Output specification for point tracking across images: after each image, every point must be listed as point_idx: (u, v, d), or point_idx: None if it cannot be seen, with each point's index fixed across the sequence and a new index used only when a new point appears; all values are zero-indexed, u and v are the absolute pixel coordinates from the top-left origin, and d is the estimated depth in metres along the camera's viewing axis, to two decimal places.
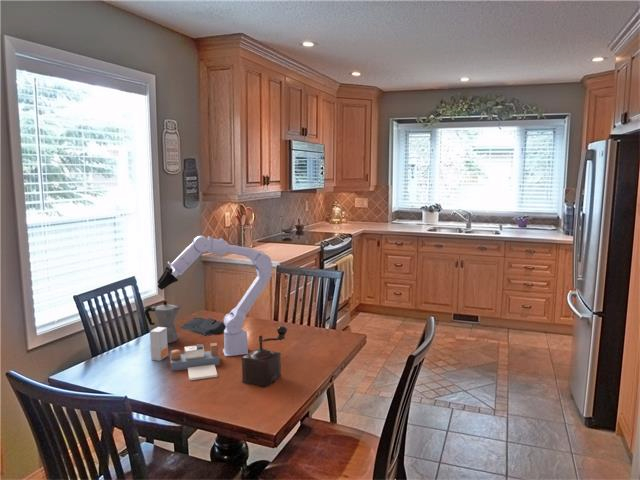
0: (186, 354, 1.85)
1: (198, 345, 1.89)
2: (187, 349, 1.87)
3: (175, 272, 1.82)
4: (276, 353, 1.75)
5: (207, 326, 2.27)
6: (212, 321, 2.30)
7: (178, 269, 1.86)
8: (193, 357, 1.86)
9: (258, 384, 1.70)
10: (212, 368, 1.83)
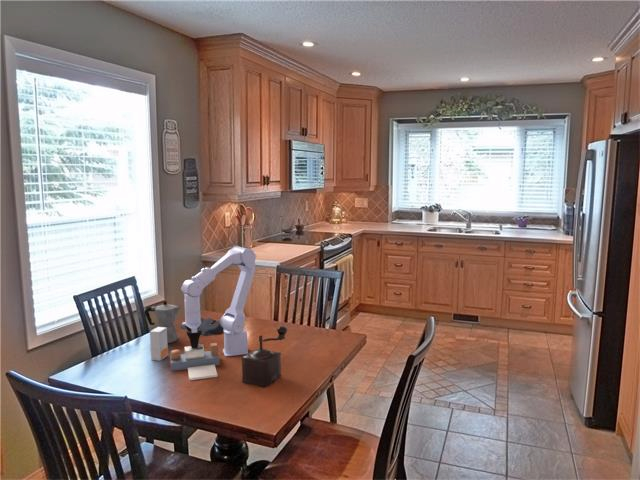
0: (186, 354, 1.85)
1: (198, 345, 1.89)
2: (187, 349, 1.87)
3: (193, 329, 1.80)
4: (276, 353, 1.75)
5: (206, 326, 2.27)
6: (211, 321, 2.30)
7: (194, 322, 1.84)
8: (193, 357, 1.86)
9: (258, 384, 1.70)
10: (212, 368, 1.83)
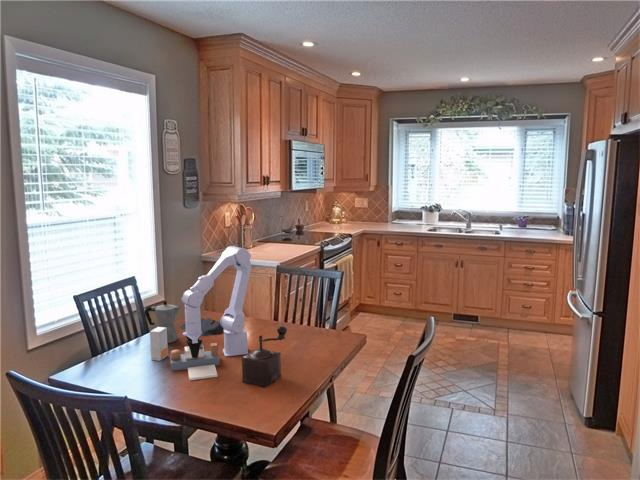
0: (186, 354, 1.85)
1: None
2: (187, 349, 1.87)
3: (193, 340, 1.81)
4: (276, 353, 1.75)
5: (205, 326, 2.27)
6: (211, 321, 2.30)
7: (194, 333, 1.85)
8: None
9: (258, 384, 1.70)
10: (212, 368, 1.83)
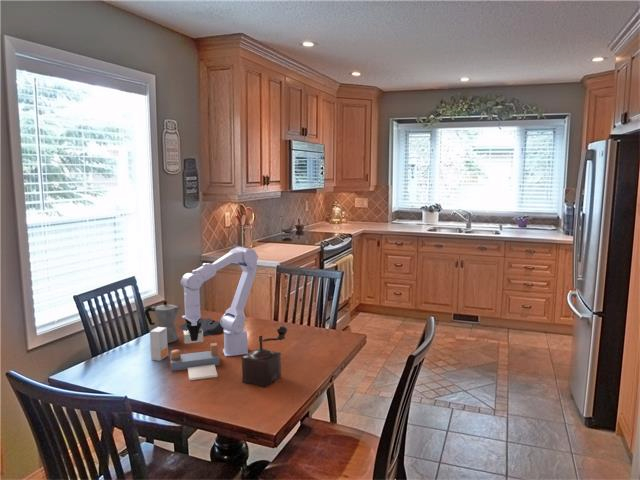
0: (185, 338, 1.84)
1: None
2: (186, 333, 1.86)
3: (193, 322, 1.80)
4: (276, 353, 1.75)
5: (205, 326, 2.27)
6: (210, 321, 2.30)
7: (194, 316, 1.84)
8: (192, 341, 1.85)
9: (258, 384, 1.70)
10: (212, 368, 1.83)
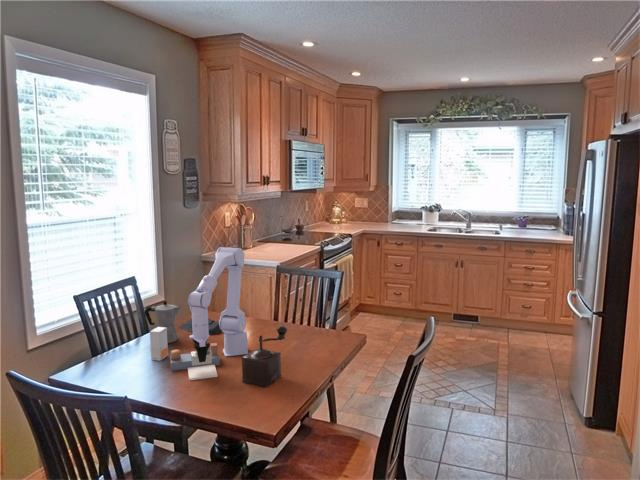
0: (193, 359, 1.76)
1: None
2: (193, 354, 1.78)
3: (201, 343, 1.72)
4: (276, 353, 1.75)
5: None
6: (210, 321, 2.30)
7: (202, 336, 1.76)
8: (200, 363, 1.77)
9: (258, 384, 1.70)
10: (212, 368, 1.83)
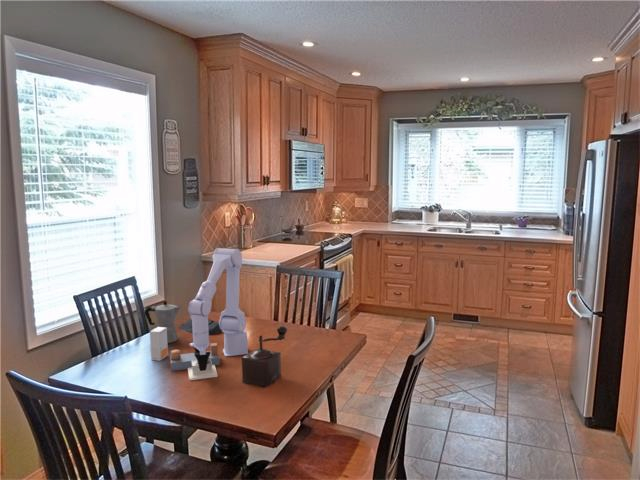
0: (193, 369, 1.77)
1: None
2: (194, 363, 1.79)
3: (201, 351, 1.72)
4: (276, 353, 1.75)
5: None
6: (209, 321, 2.30)
7: (202, 343, 1.76)
8: (200, 372, 1.78)
9: (258, 384, 1.70)
10: (212, 368, 1.83)
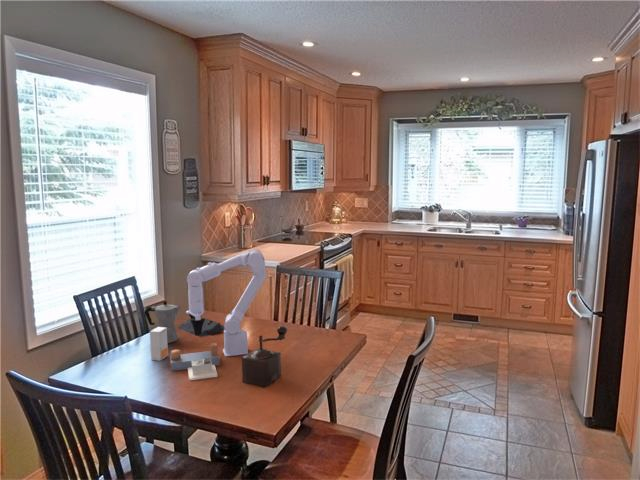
0: (193, 369, 1.77)
1: (206, 359, 1.81)
2: (194, 363, 1.79)
3: (197, 317, 1.90)
4: (276, 353, 1.75)
5: (202, 326, 2.26)
6: (208, 322, 2.29)
7: (197, 311, 1.94)
8: (200, 372, 1.78)
9: (258, 384, 1.70)
10: (212, 368, 1.83)
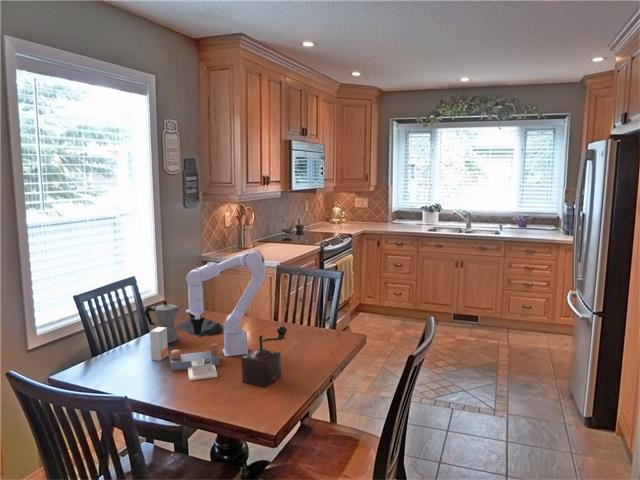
0: (193, 369, 1.77)
1: (206, 359, 1.81)
2: (194, 363, 1.79)
3: (196, 316, 1.91)
4: (276, 353, 1.75)
5: (202, 326, 2.26)
6: (207, 322, 2.29)
7: (197, 310, 1.95)
8: (200, 372, 1.78)
9: (258, 384, 1.70)
10: (212, 368, 1.83)
